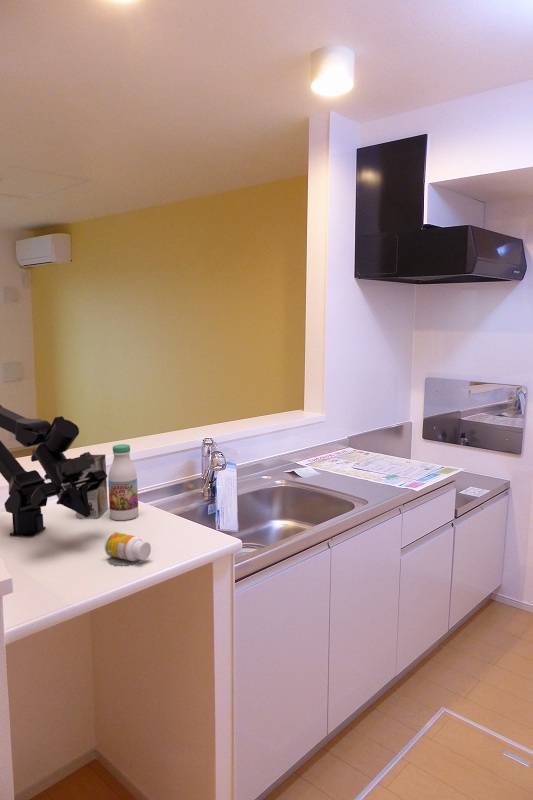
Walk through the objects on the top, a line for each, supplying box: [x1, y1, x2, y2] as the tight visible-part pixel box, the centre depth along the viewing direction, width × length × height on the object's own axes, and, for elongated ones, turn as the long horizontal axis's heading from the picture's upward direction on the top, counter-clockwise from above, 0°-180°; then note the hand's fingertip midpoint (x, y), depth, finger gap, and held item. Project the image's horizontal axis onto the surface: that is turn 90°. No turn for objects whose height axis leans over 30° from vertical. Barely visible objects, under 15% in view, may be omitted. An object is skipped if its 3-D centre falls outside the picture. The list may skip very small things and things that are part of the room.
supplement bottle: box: [103, 531, 152, 561], centre depth 131 cm, size 5×5×10 cm
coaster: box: [107, 556, 142, 568], centre depth 132 cm, size 8×8×1 cm
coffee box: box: [75, 454, 109, 519], centre depth 164 cm, size 9×6×16 cm
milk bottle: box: [107, 443, 139, 521], centre depth 161 cm, size 8×8×20 cm
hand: (88, 516), depth 137 cm, fingers closed
